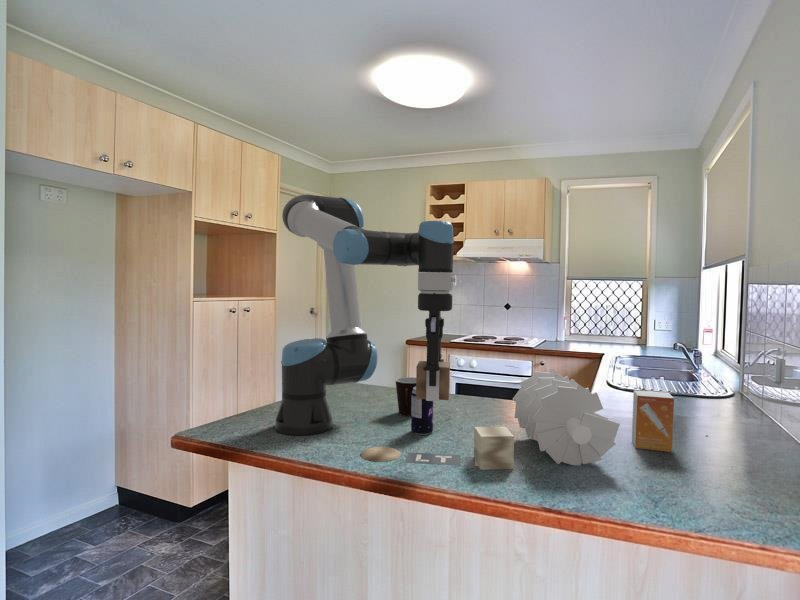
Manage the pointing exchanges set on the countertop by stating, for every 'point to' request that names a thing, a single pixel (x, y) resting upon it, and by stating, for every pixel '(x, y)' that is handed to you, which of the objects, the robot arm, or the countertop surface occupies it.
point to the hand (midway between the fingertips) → (433, 396)
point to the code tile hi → (472, 463)
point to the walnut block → (443, 380)
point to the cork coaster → (380, 454)
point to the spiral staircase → (564, 418)
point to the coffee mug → (405, 394)
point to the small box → (652, 420)
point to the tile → (433, 458)
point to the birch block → (493, 448)
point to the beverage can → (421, 415)
